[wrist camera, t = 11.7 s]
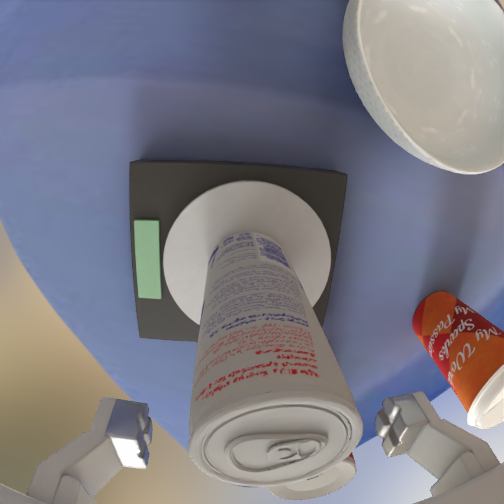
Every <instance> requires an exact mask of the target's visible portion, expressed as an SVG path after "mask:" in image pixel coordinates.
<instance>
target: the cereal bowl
mask: <svg viewBox="0 0 504 504" xmlns="http://www.w3.org/2000/svg"><path fill="white" fill-rule="evenodd" d="M342 37H343V41H342V42H343V49H344V56H345V59H346V65H347V67H348V71H349V76H350V78H351V79H352V84H353V85H354V87H355V90H356V92H357V93H358V96H359V98H360V99H361V101H362V103H363V105H364V106H365V107H366V110H367V111H368V112H369V114H370V115H371V117H372V118H373V119H374V120H375V122H376V123H377V124H378V125H379V127H380V128H381V129H382V130H383V131H384V132H385V134H387V135H388V136H389V137H390V138H391V139H392V140H393V141H394V142H395V143H396V144H398V145H399V146H401V147H402V148H403V149H404V150H405V151H407V152H409V153H410V154H412V155H413V156H415V157H417V158H419V159H420V160H422V161H424V162H427V163H428V164H430V165H434V166H436V167H438V168H442V169H444V170H447V171H452V172H454V173H462V174H481V173H485V172H488V171H491V170H493V169H495V168H497V167H499V166H500V165H502V164H503V163H504V12H503V11H502V9H501V8H500V7H499V5H498V4H497V3H496V1H495V0H349V3H348V4H347V7H346V12H345V15H344V22H343V34H342Z"/></svg>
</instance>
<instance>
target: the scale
mask: <svg viewBox="0 0 504 504" xmlns="http://www.w3.org/2000/svg"><path fill="white" fill-rule="evenodd" d="M346 183H347V174H344V173H341V172H338V171H333V170H324V169H315V168H305V167H295V166H284V165H272V164H259V163H244V162H226V161H202V160H136V161H132V162H130V232H131V252H132V268H133V281H134V292H135V302H136V312H137V320H138V329H139V336H140V338H148V339H160V340H173V341H189V342H198V336H199V328H200V320H201V313H202V305H203V298H204V291H205V283H206V276H207V269H208V262H209V258H210V256H211V254H212V252H213V250H214V249H215V248H216V246H217V245H218V244H219V243H220V242H221V241H223V240H224V239H225V238H227V237H229V236H231V235H233V234H236V233H240V232H246V231H253V232H259V233H263V234H266V235H268V236H270V237H272V238H273V239H275V240H276V241H277V242H278V243H279V244H280V245H281V246H282V247H283V249H284V250H285V252H286V254H287V256H288V258H289V260H290V262H291V264H292V266H293V269H294V271H295V273H296V275H297V277H298V279H299V281H300V283H301V285H302V287H303V289H304V291H305V293H306V296H307V298H308V300H309V302H310V304H311V306H312V308H313V310H314V312H315V315H316V317H317V319H318V321H319V323H320V325H321V327H322V326H323V322H324V317H325V312H326V307H327V302H328V297H329V292H330V286H331V281H332V276H333V270H334V264H335V258H336V252H337V246H338V240H339V234H340V227H341V220H342V213H343V206H344V199H345V191H346Z"/></svg>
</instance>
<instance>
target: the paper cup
mask: <svg viewBox="0 0 504 504" xmlns="http://www.w3.org/2000/svg"><path fill="white" fill-rule="evenodd" d="M413 329H414V331H415V333H416V335H417V336H418V338H419V339H420V341H421V342H422V344H423V345H424V347H425V348H426V350H427V351H428V353H429V354H430V356H431V357H432V359H433V360H434V361H435V363H436V364H437V366H438V367H439V369H440V370H441V372H442V373H443V375H444V376H445V378H446V379H447V381H448V383H449V384H450V386H451V387H452V389H453V390H454V392H455V393H456V395H457V396H458V398H459V400H460V401H461V403H462V404H463V406H464V408H465V409H466V411H467V412H468V424H469V425H472V426H475V427H476V428H483V429H489V428H492V427H494V426H496V425H498V424H500V423H501V422H503V421H504V332H503V331H502V330H500V329H499V328H497V327H496V326H495V325H493V324H492V323H491V322H489V321H488V320H486V319H485V318H484V317H482V316H481V315H480V314H478V313H477V312H476V311H474V310H473V309H471V308H470V307H469V306H467V305H466V304H464V303H463V302H462V301H460V300H459V299H457V298H456V297H454V296H453V295H451V294H449V293H447V292H445V291H438V292H435V293H433V294H431V295H429V296H428V297H426V298H425V299H424V300H423V301H422V302H421V304H420V305H419V306H418V308H417V310H416V312H415V314H414V317H413Z"/></svg>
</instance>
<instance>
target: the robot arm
mask: <svg viewBox="0 0 504 504" xmlns="http://www.w3.org/2000/svg"><path fill="white" fill-rule="evenodd" d="M382 406H383V409H382V410H380V411H379V412H378V413H377V416H376V418H375V429H376V432H377V435H378V436H379V437H381V438H382V439H383V442H382V446H383V448H384V451H385V453H386V455H387V457H392V456H397V455H401V454H405V453H407V455H408V456H409V457H410V458H412V459H413V460H414V461H415V462H417V463H418V464H419V465H420V466H422V467H423V468H424V469H425V470H427V471H428V472H429V473H431V474H432V475H433V476H434V477H436V478H437V479H438V481H437V482H436V483H435V484H434V485H433V486H432V487H431V489H430V491H431V494H432V496H433V497H430V498H428V499H425V500H423V501H420V502H417V503H414V504H504V462H503V463H502V464H500V463H499V461H498V459H497V458H496V456H495V454H494V453H493V451H492V450H491V448H490V446H489V445H488V443H487V442H485V441H483V440H481V439H479V438H478V437H476V436H474V435H472V434H470V433H468V432H467V431H465V430H463V429H461V428H459V427H457V426H456V425H454V424H452V423H450V422H448V421H447V420H445V419H442V420H441V419H440V418H439V416H438V414H437V413H436V411H435V410H434V408H433V406H432V405H431V403H430V402H429V400H428V399H427V397H426V395H425V394H424V393H423V392H422V391H419V392H414V393H409V394H403V395H397V396H392V397H387V398H386V399H385V400H384V401H383V403H382ZM148 413H149V408H148V404H147V403H140V402H134V401H127V400H121V399H114V398H108V397H103V398H102V399H101V401H100V404H99V406H98V409H97V412H96V414H95V417H94V420H93V423H92V425H91V428H90V431H89V433H88V432H84V433H83V434H82V435H80V436H79V437H77V438H76V439H74V440H73V441H71V442H70V443H69V444H67V445H66V446H64V447H63V448H62V449H60V450H59V451H57V452H56V453H54V454H53V455H51V456H50V457H49V458H47V459H45V460H44V461H43V462H41V463H40V464H38V465H37V468H36V471H35V473H34V475H33V478H32V481H31V484H30V486H29V489H28V492H27V494H26V495H25V494H23V493H21V492H18V491H16V490H14V489H11V488H9V487H7V486H5V485H3V484H1V483H0V504H97V503H96V502H95V500H94V499H93V498H92V497H93V496H94V495H95V494H96V493H97V492H98V491H99V490H100V489H101V488H102V487H103V486H104V485H105V484H106V483H107V482H108V481H109V480H110V479H111V478H112V477H113V476H114V475H115V474H116V473H117V472H118V471H119V470H120V469H121V468H122V466H125V467H132V468H140V469H147V464H148V458H149V452H148V449H147V446H149V445H150V444H151V440H152V421H151V418H150V417H149V416H148Z"/></svg>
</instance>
